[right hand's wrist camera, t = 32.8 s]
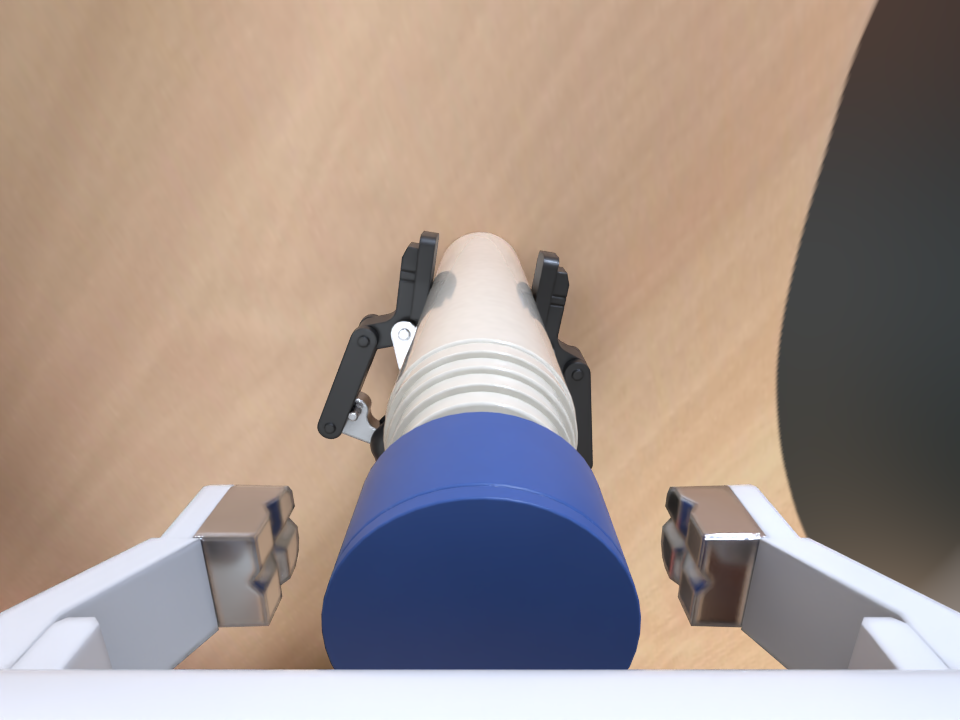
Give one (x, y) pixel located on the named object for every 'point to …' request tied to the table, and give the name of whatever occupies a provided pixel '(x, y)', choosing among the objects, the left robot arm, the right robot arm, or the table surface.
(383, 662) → the cap
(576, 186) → the table surface
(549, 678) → the right robot arm
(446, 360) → the bottle
